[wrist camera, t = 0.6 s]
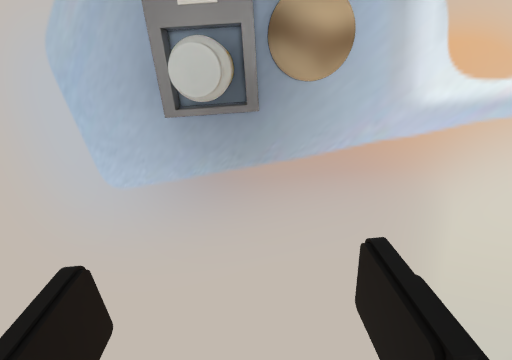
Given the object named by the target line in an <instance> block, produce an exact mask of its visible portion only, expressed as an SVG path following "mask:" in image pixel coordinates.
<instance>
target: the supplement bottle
mask: <svg viewBox="0 0 512 360" xmlns="http://www.w3.org/2000/svg"><path fill="white" fill-rule="evenodd" d="M168 73H169V77H170V80H171V82H172V84H173V85H174V87H175V88H176V89H177V90H178V91H179V92H180V93H181V94H182V95H183V96H185V97H186V98H188V99H190V100H193V101H197V102H208V101H212V100H214V99H216V98H218V97H219V96H221V95H222V94H223V93H224V92H225V90H226V89H227V88H228V86H229V85H230V83H231V81H232V79H233V75H234V64H233V60H232V57H231V55H230V54H229V52H228V51H227V50H226V49H225V48H224V47H223V46H222V45H221V44H219V43H218V42H217V41H215V40H214V39H212V38H210V37H207V36H203V35H191V36H188V37H185V38H183V39H182V40H180V41H179V42H178V43H177V44H176V45H175V46H174V48H173V49H172V51H171V54H170V57H169V61H168Z"/></svg>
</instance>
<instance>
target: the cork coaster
mask: <svg viewBox="0 0 512 360" xmlns="http://www.w3.org/2000/svg"><path fill="white" fill-rule="evenodd" d="M354 37H355V18H354V13H353V10H352V7H351V5H350V3H349V1H348V0H280V1H279V3H278V4H277V6H276V8H275V10H274V11H273V14H272V16H271V19H270V23H269V28H268V44H269V49H270V52H271V55H272V57H273V59H274V61H275V63H276V64H277V66H278V67H279V68H280V69H281V70H282V71H283V72H284V73H285V74H287V75H289V76H290V77H292V78H295V79H298V80H302V81H315V80H319V79H322V78H325V77H327V76H329V75H330V74H332V73H333V72H335V71H336V70H337V69H338V68H339V67H340V66H341V65H342V64H343V62H344V61H345V60H346V58H347V56H348V55H349V53H350V51H351V48H352V45H353V42H354Z"/></svg>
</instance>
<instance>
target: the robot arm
mask: <svg viewBox="0 0 512 360" xmlns="http://www.w3.org/2000/svg"><path fill="white" fill-rule="evenodd" d="M355 303H356V308H357V311H358V313H359V315H360V317H361V320H362V322H363V324H364V326H365V328H366V330H367V332H368V335H369V337H370V339H371V341H372V343H373V346H374V348H375V350H376V352H377V354H378V357H379V359H380V360H489V359H488V357H487V356H486V355H485V354H484V353H483V351H482V350H481V349H480V348H479V347H478V345H477V344H476V343H475V342H474V340H473V339H472V338H471V337H470V335H469V334H468V333H467V332H466V331H465V329H464V328H463V327H462V326H461V325H460V323H459V322H458V321H457V320H456V318H455V317H454V316H453V315H452V314H451V313H450V311H449V310H448V309H447V308H446V307H445V305H444V304H443V303H442V301H441V300H440V299H439V298H438V297H437V295H436V294H435V293H434V292H433V291H432V289H431V288H430V287H429V286H428V285H427V283H426V282H425V281H424V280H423V279H422V278H421V277H420V276H418V275H415V274H414V272H413V271H412V270H411V269H410V268H409V266H408V265H407V264H406V263H405V261H404V260H403V259H402V258H401V256H400V255H399V254H398V253H397V251H396V250H395V249H394V248H393V246H392V245H391V244H390V243H389V241H388V240H387V239H386V238H384V237H379V238H368V239H366V241H365V243H362V244H361V246H360V256H359V266H358V276H357V286H356V296H355ZM112 330H113V324H112V321H111V319H110V316H109V314H108V311H107V309H106V307H105V305H104V303H103V300H102V298H101V295H100V293H99V291H98V289H97V286H96V284H95V282H94V279H93V277H92V275H91V273H90V271H89V270H86V269H85V267H83V266H74V267H64V268H62V269H60V270H59V271H58V272H57V273H56V275H55V276H54V277H53V278H52V279H51V280H50V282H49V283H48V284H47V285H46V286H45V287H44V288H43V290H42V291H41V292H40V293H39V294H38V295H37V296H36V298H35V299H34V300H33V301H32V302H31V303H30V305H29V306H28V307H27V308H26V309H25V310H24V312H23V313H22V314H21V315H20V316H19V317H18V319H16V321H15V322H14V323H13V324H12V325H11V327H10V328H9V329H8V330H7V331H6V332H5V333H4V334H3V336H2V337H1V338H0V360H100V357H101V355H102V353H103V351H104V349H105V347H106V345H107V342H108V341H109V339H110V337H111V334H112Z"/></svg>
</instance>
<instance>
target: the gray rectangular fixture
mask: <svg viewBox="0 0 512 360" xmlns="http://www.w3.org/2000/svg"><path fill="white" fill-rule="evenodd" d="M142 5H143V10H144V15H145V20H146V25H147V30H148V35H149V40H150V45H151V50H152V55H153V60H154V65H155V70H156V75H157V80H158V85H159V90H160V95H161V100H162V105H163V109H164V114H165V118H170V117H184V116H198V115H211V114H225V113H239V112H253V111H259V103H258V85H257V68H256V51H255V34H254V16H253V0H142ZM227 26H241V30H242V43H243V56H244V70H245V83H246V96H247V102H237V103H223V104H210V105H196V106H182V107H180V102H179V96H178V91H177V89H176V88H175V87H174V85H173V84H172V82H171V80H170V77H169V73H168V61H169V57H170V54H171V51H170V45H169V39H168V34H167V31H168V30H183V29H198V28H212V27H227Z"/></svg>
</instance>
